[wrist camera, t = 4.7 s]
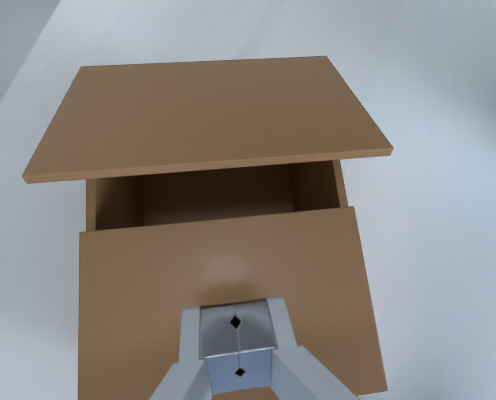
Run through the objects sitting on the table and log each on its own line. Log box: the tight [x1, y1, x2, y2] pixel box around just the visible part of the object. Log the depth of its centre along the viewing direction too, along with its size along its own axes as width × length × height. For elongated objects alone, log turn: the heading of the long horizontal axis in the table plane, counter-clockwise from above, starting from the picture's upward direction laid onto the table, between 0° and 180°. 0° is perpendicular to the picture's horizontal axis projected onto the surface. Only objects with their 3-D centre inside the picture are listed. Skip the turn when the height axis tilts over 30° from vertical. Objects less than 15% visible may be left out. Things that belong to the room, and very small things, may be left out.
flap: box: [22, 56, 393, 184], centre depth 14 cm, size 9×14×1 cm, turn 96°
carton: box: [78, 159, 388, 400], centre depth 21 cm, size 18×14×11 cm
